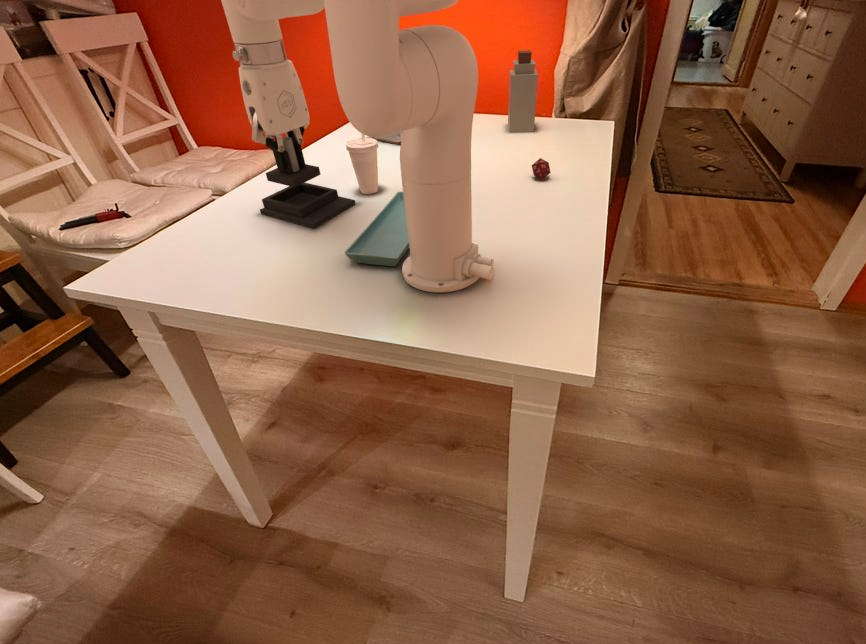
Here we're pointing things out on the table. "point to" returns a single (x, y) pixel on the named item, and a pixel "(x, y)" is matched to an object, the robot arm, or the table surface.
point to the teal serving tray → (383, 236)
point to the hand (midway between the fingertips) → (292, 168)
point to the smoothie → (364, 163)
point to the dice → (541, 169)
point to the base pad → (305, 205)
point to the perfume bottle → (522, 94)
